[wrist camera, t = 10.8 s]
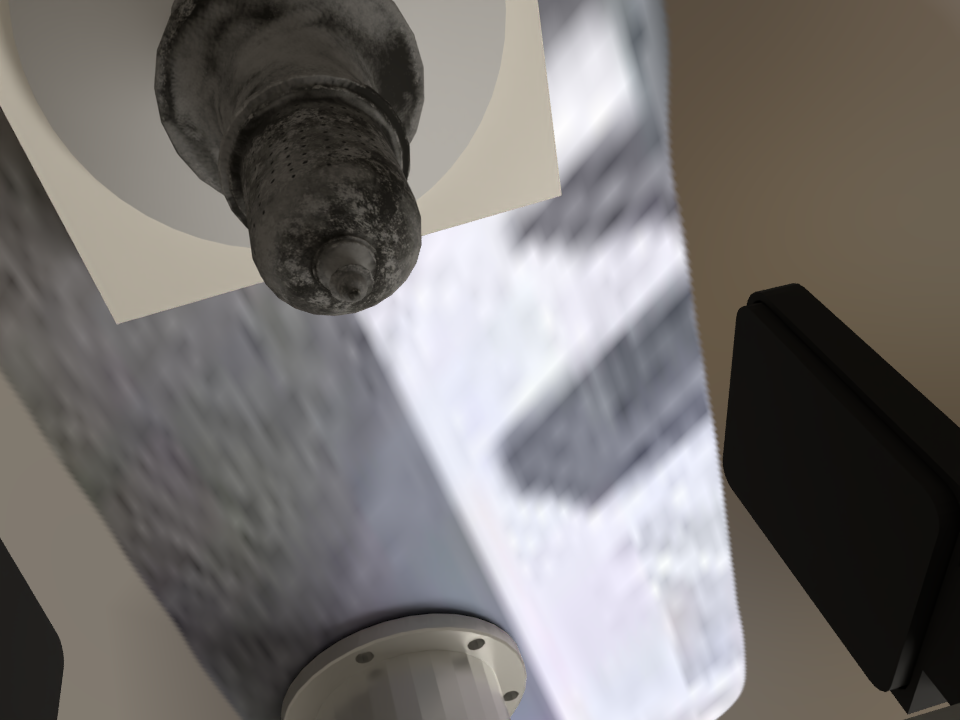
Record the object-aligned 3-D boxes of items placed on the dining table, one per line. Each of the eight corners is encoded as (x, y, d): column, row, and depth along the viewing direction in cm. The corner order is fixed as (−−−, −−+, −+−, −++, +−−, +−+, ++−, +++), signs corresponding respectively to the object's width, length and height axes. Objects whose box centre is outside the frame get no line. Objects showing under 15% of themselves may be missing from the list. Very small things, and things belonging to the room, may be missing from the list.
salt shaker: (101, 32, 21) (50, 304, 12) (283, -144, 20) (377, 10, 11) (277, 194, 25) (340, 499, 16) (440, 53, 24) (609, 293, 15)
